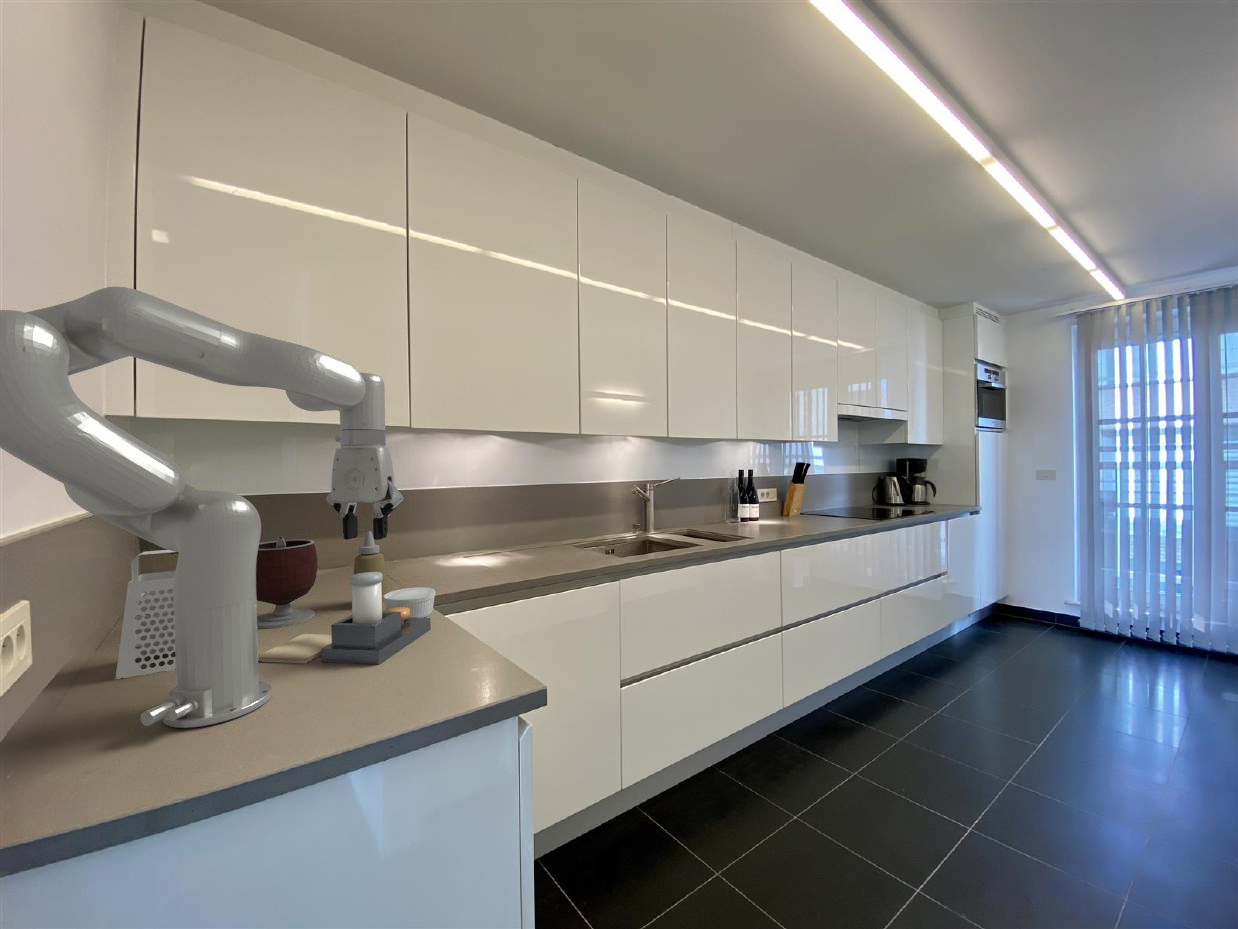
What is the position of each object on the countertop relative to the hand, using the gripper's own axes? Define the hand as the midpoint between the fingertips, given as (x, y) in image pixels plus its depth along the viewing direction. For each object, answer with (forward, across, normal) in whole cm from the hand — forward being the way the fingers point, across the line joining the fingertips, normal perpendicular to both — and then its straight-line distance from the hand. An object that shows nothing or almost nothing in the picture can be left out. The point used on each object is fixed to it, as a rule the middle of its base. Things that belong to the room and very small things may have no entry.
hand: (365, 537), depth 96 cm
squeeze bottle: (+22, -19, +30) cm, 42 cm away
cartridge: (+19, 0, 0) cm, 19 cm away
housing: (+21, 0, +4) cm, 22 cm away
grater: (+22, -34, -8) cm, 41 cm away
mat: (+21, -13, 0) cm, 25 cm away
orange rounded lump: (+21, 0, +10) cm, 23 cm away
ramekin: (+22, -4, +22) cm, 31 cm away
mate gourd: (+22, -31, +16) cm, 41 cm away
